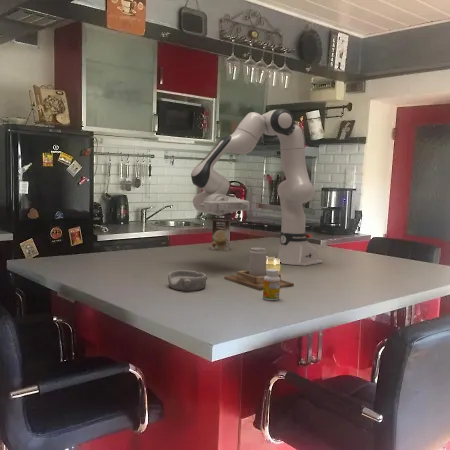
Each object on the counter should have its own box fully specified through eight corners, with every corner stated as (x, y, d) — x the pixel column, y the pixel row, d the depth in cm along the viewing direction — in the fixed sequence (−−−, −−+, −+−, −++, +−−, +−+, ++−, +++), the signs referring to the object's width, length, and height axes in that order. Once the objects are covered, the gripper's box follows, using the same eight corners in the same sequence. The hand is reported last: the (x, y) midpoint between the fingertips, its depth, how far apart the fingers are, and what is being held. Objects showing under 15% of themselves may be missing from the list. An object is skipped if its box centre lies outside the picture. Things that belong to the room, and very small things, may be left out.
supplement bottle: (261, 296, 171) (262, 268, 170) (277, 297, 171) (278, 268, 170) (264, 300, 166) (265, 271, 165) (280, 301, 166) (282, 271, 165)
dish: (191, 294, 172) (191, 279, 171) (159, 287, 179) (159, 273, 179) (215, 286, 184) (215, 273, 184) (184, 281, 191) (184, 268, 191)
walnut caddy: (256, 275, 207) (257, 266, 206) (293, 286, 189) (294, 276, 189) (224, 278, 198) (224, 269, 197) (259, 290, 180) (260, 280, 179)
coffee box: (211, 250, 268) (212, 219, 267) (212, 248, 275) (213, 218, 273) (228, 251, 268) (229, 220, 266) (229, 249, 274) (230, 219, 272)
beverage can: (265, 282, 190) (267, 250, 188) (248, 281, 190) (249, 249, 189) (265, 278, 196) (266, 247, 195) (248, 277, 196) (249, 246, 195)
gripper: (197, 197, 208) (216, 199, 197) (238, 196, 219) (258, 198, 208) (197, 212, 209) (215, 215, 197) (237, 211, 220) (257, 214, 209)
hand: (237, 207), depth 203 cm, fingers open, 8 cm apart
